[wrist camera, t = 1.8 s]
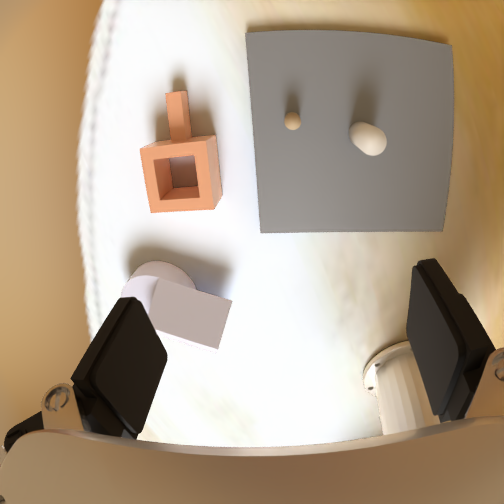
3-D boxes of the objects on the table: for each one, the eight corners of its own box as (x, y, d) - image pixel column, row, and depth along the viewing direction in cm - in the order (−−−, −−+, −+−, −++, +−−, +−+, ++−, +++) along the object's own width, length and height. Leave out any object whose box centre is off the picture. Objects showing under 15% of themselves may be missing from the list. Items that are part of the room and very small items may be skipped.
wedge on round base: (236, 283, 38) (134, 251, 37) (227, 320, 32) (109, 281, 32) (220, 336, 42) (130, 306, 42) (210, 373, 36) (110, 338, 36)
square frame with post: (222, 195, 33) (214, 209, 29) (164, 199, 34) (150, 212, 30) (211, 87, 28) (200, 87, 24) (150, 97, 29) (132, 98, 25)
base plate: (438, 226, 32) (459, 250, 27) (261, 228, 34) (256, 254, 29) (446, 46, 22) (474, 41, 17) (246, 35, 25) (237, 23, 20)
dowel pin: (300, 126, 28) (301, 129, 25) (285, 127, 28) (284, 130, 26) (299, 111, 27) (300, 113, 25) (284, 112, 27) (283, 114, 25)
